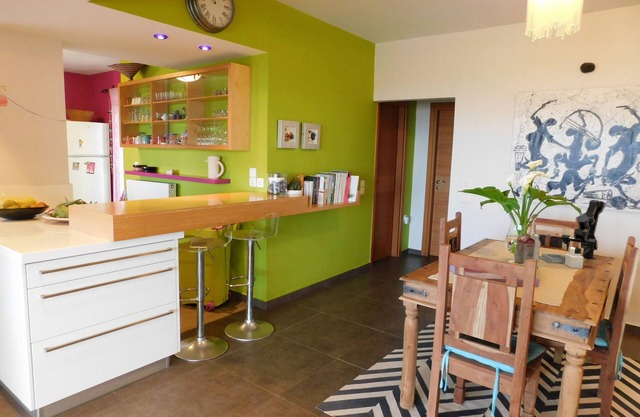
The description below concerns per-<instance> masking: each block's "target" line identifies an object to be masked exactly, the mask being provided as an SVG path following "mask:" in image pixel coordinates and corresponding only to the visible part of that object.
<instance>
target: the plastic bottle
mask: <svg viewBox="0 0 640 417" xmlns="http://www.w3.org/2000/svg"><path fill="white" fill-rule="evenodd" d="M531 238H532V239H534V240H535V247H534V256H533V259H536V260H537V261H538V266H539V265H540V260H539V259H540V258H539V256H540V255H539V254H540V250H541V249H540V248H541V246H542V243H541V240H540V234H539V233H532V235H531Z"/></svg>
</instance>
